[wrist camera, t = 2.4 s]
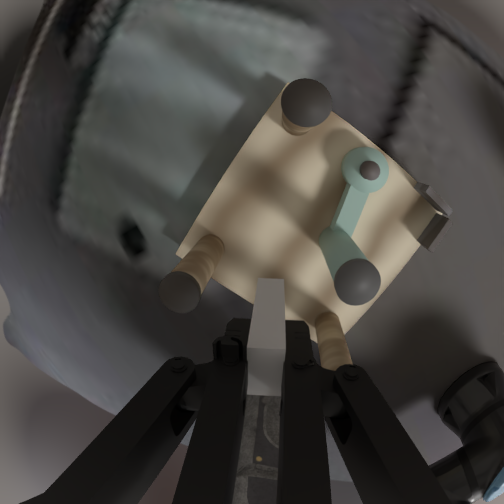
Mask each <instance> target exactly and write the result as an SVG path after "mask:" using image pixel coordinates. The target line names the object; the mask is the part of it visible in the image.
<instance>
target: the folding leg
mask: <svg viewBox="0 0 504 504" xmlns="http://www.w3.org/2000/svg"><path fill="white" fill-rule="evenodd" d="M364 161H374V162H376V163H377V164H378V165H379V167H380V175H379V177H378V178H377V179H375V180H372V181H371V180H367V179H364V178H363V177H362V176H361V174H360V171H359V168H360V165H361V164H362V163H363V162H364ZM341 171H342V175H343V178H344V180H345V181H346V183H347V184H346V187H345V189H344V192H343V194H342V197H341V200H340V202H339V205H338V207H337V210H336V212H335V215H334V217H333V220H332V222H331V225H330V227H327V228H326V229H324V230H323V231H322V233H321V234H320V237H319V246H320V248H321V251H322V253H323V256H324V258H325V261H326V263H327V266H328V268H329V271H330V274H331V276H332V279H333V281H334V288H335V291H336V293H337V295H338V297H339V299H340V300H341V301H343V302H344V303H346V304H348V305H353V306H358V305H363V304H365V303H367V302H369V301H370V300H372V299H373V298H374V297H375V296H376V294H377V293H378V291H379V289H380V285H381V277H380V274H379V271H378V270H377V268H376V267H375V266H374V265H373V264H372V263H371V262H370V261H369V260H368V259H367V258H366V256H365V255H364V254H363V252H362V251H361V250H360V249H359V247H358V246H357V245H356V243H355V242H354V241H353V240H352V238H351V237H352V234H353V232H354V230H355V227H356V225H357V222H358V220H359V218H360V215H361V213H362V210H363V208H364V205H365V203H366V200H367V198H368V195H369V193H372V192H376V191H378V190H379V189H381V188H382V187H383V186H384V185H385V183H386V181H387V179H388V175H389V166H388V163H387V160H386V158H385V157H384V155H383V154H382V153H381V152H379V151H378V150H376V149H374V148H371V147H358V148H354V149H352V150H350V151H349V152H348V153H347V154H346V155H345V156H344V158H343V161H342V165H341Z"/></svg>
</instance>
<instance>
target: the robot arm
mask: <svg viewBox="0 0 504 504" xmlns="http://www.w3.org/2000/svg"><path fill="white" fill-rule="evenodd" d="M213 354H214V360H213V361H212V362H209V363H206V364H199V365H194V363H193V361H192V360H190V359H188V358H185V357H174V358H172V359H169V360H168V361H166V362H165V363H164V364H163V365H162V366H161V367H160V369H159V370H158V371H157V372H156V373H155V374H154V375H153V376H152V377H151V378H150V379H149V381H148V382H147V383H146V384H145V385H144V386H143V387H142V388H141V389H140V390H139V391H138V393H137V394H136V395H135V396H134V397H133V398H132V399H131V400H130V401H129V402H128V403H127V405H126V406H125V407H124V408H123V409H122V410H121V411H120V412H119V413H118V414H117V415H116V416H115V418H114V419H113V420H112V421H111V422H110V423H109V424H108V425H107V426H106V427H105V428H104V429H103V431H102V432H101V433H100V434H99V435H98V436H97V437H96V438H95V439H94V440H93V441H92V442H91V444H90V445H89V446H88V447H87V448H86V449H85V450H84V451H83V452H82V453H81V454H80V455H79V456H78V457H77V458H76V459H75V461H74V462H73V463H72V464H71V465H70V466H69V467H68V468H67V469H66V470H65V471H64V472H63V473H62V474H61V476H59V478H58V479H57V480H56V481H55V482H54V483H53V484H52V485H51V486H50V487H49V488H48V489H47V490H46V491H45V492H44V493H43V494H40V495H38V496H36V497H34V498H31V499H29V500H27V501H24V502H22V503H19V504H137V503H138V502H139V501H140V500H141V498H142V497H143V495H144V494H145V493H146V491H147V490H148V488H149V487H150V486H151V484H152V483H153V481H154V480H155V478H156V477H157V475H158V474H159V473H160V471H161V470H162V469H163V467H164V466H165V464H166V463H167V461H168V460H169V458H170V457H171V455H172V454H173V452H174V451H175V450H176V448H177V447H178V445H179V444H180V442H181V441H182V439H183V438H184V436H185V435H186V433H187V432H188V430H189V429H190V427H191V426H192V424H193V423H194V421H195V420H196V422H195V426H194V429H193V433H192V436H191V439H190V443H189V446H188V450H187V453H186V457H185V460H184V464H183V467H182V471H181V474H180V478H179V481H178V485H177V488H176V492H175V495H174V498H173V502H172V504H232V501H233V495H234V488H235V481H236V474H237V467H238V460H239V453H240V446H241V439H242V432H243V425H244V418H245V410H246V395H264V396H281V402H280V410H279V416H280V427H279V455H278V478H277V497H276V504H332V503H331V489H330V475H329V464H328V453H327V443H326V433H325V424H324V417H325V420H326V422H327V425H328V427H329V429H330V431H331V434H332V436H333V438H334V440H335V442H336V445H337V447H338V449H339V451H340V453H341V456H342V458H343V460H344V462H345V465H346V467H347V469H348V471H349V473H350V476H351V478H352V480H353V482H354V485H355V487H356V489H357V491H358V493H359V495H360V498H361V500H362V502H363V504H472V503H474V502H475V501H477V500H479V499H481V498H482V497H483V500H485V501H486V502H489V501H491V500H493V499H494V498H496V497H497V496H499V495H501V494H502V493H503V492H504V372H503V371H502V369H501V368H500V367H499V365H498V364H496V363H494V362H487V363H483V364H481V365H478V366H476V367H474V368H473V369H471V370H469V371H468V372H466V373H465V374H464V375H462V376H461V377H460V378H459V379H458V380H457V381H456V382H455V383H454V384H453V385H452V386H451V387H450V388H449V389H448V390H447V391H446V393H445V394H444V396H443V397H442V399H441V401H440V403H439V407H438V413H439V416H440V418H441V420H442V422H443V423H444V424H445V425H446V426H447V427H448V428H449V429H450V430H452V431H453V432H454V433H455V434H456V435H457V436H458V437H459V438H460V439H461V442H462V444H463V447H461V448H459V449H458V450H456V451H454V452H453V453H451V454H449V455H447V456H446V457H444V458H442V459H440V460H439V461H437V462H435V463H433V464H431V465H429V466H428V465H427V463H426V461H425V460H424V458H423V457H422V455H421V454H420V452H419V451H418V449H417V447H416V446H415V444H414V443H413V441H412V440H411V438H410V437H409V435H408V434H407V432H406V431H405V429H404V428H403V426H402V425H401V423H400V422H399V420H398V419H397V417H396V416H395V414H394V413H393V411H392V410H391V408H390V407H389V405H388V404H387V402H386V401H385V399H384V398H383V396H382V395H381V393H380V392H379V390H378V389H377V387H376V386H375V384H374V383H373V381H372V380H371V379H370V377H369V376H368V374H367V373H366V371H365V370H364V369H363V368H361V367H359V366H357V365H353V364H344V365H342V366H339V367H338V368H337V369H336V371H334V370H329V369H326V368H323V367H321V366H319V365H318V364H317V363H316V361H315V359H314V358H313V352H312V345H311V339H310V331H309V326H308V325H307V323H306V322H305V321H304V320H285V295H284V279H270V278H258V282H257V288H256V294H255V301H254V307H253V313H252V319H239V318H233V319H232V320H231V321H230V322H229V323H228V325H227V328H226V332H225V336H222V337H219V338H217V339H216V340H215V341H214V342H213ZM196 418H197V419H196Z"/></svg>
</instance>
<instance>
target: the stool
mask: <svg viewBox="0 0 504 504" xmlns="http://www.w3.org/2000/svg"><path fill="white" fill-rule="evenodd" d="M331 110H332V98H331V95H330V93H329V91H328V90H327V88H326V87H325V86H324V85H322V84H321V83H319V82H318V81H315V80H312V79H306V78H304V79H298V80H295V81H293V82H291V83H289V82H288V83H287V84H286V85H285V87H284V88H283V90H282V91H281V92H280V94H279V95H278V96H277V98H276V99H275V100H274V102H273V103H272V105H271V106H270V107H269V109H268V110H267V112H266V113H265V114H264V116H263V117H262V119H261V120H260V122H259V123H258V124H257V126H256V127H255V129H254V130H253V132H252V133H251V135H250V136H249V138H248V139H247V140H246V142H245V143H244V145H243V146H242V148H241V149H240V151H239V152H238V154H237V155H236V157H235V158H234V160H233V161H232V163H231V164H230V166H229V168H228V169H227V171H226V172H225V174H224V175H223V177H222V178H221V180H220V181H219V183H218V185H217V186H216V188H215V189H214V191H213V193H212V194H211V196H210V197H209V199H208V200H207V202H206V204H205V205H204V207H203V209H202V210H201V212H200V213H199V215H198V217H197V218H196V220H195V222H194V223H193V225H192V227H191V228H190V230H189V232H188V233H187V235H186V237H185V238H184V240H183V242H182V244H181V245H180V247H179V249H178V250H177V252H176V255H178V256H179V257H181V258H182V260H181V261H180V262H179V264H178V265H177V266H176V267H175V268H174V269H173V270H172V272H171V273H169V274H168V275H166V277H165V278H164V279H163V280H162V281H161V283H160V285H159V290H158V291H159V297H160V299H161V301H162V303H163V304H164V305H165V306H166V307H167V308H168V309H170V310H171V311H174V312H176V313H188V312H191V311H192V310H194V309H195V308H196V306H197V305H198V303H199V301H200V298H201V294H202V292H203V291H204V289H205V287H206V285H207V283H208V281H209V279H210V278H212V279H214V280H216V281H217V282H219V283H220V284H222V285H223V286H225V287H226V288H228V289H230V290H231V291H233V292H234V293H236V294H237V295H239V296H241V297H242V298H244V299H245V300H247V301H249V302H250V303H252V304H253V305H254V301H255V294H256V288H257V282H258V278H270V279H284V295H285V320H304V321H305V322H306V323H307V325H308V326H309V331H310V339H311V340H313V341H315V342H316V343H318V348H319V354H320V361H321V367H323V368H326V369H329V370H334V371H336V369H337V368H338V367H339V366H342V365H344V364H352V360H351V357H350V353H349V350H348V346H347V343H346V340H345V336H344V335H345V334H346V333H347V331H348V330H349V329H350V328H351V327H352V326H353V325H354V324H355V323H356V322H357V321H358V320H359V319H360V317H361V316H362V315H363V314H364V313H365V312H366V311H367V310H368V309H369V307H370V306H371V305H372V304H373V303H374V302H375V301H376V299H377V298H378V297H379V296H380V295H381V294H382V292H383V291H384V290H385V289H386V288H387V287H388V285H389V284H390V283H391V282H392V281H393V279H394V278H395V277H396V276H397V274H398V273H399V272H400V271H401V269H402V268H403V267H404V266H405V264H406V263H407V262H408V261H409V259H410V258H411V257H412V255H413V254H414V253H415V251H416V250H417V249H418V247H419V246H420V245H422V246H424V247H425V248H426V249H428V250H429V251H430V252H432V253H433V251H434V250H435V249H436V247H437V246H438V245H439V243H440V242H441V240H442V239H443V238H444V236H445V235H446V233H447V232H448V230H449V229H450V228H451V226H452V225H453V223H452V221H451V220H450V219H448V218H446V217H444V216H442V214H445V215H448V216H450V214H451V213H452V211H453V210H452V209H451V207H450V206H449V205H448V204H447V203H446V202H445V201H444V200H443V199H442V198H441V197H440V196H439V195H438V194H437V192H436V191H435V190H434V189H433V188H432V187H431V186H429V185H426V184H422V183H418V182H417V181H415V180H414V179H413V178H412V177H411V176H410V175H409V174H408V173H407V172H406V171H405V170H404V169H403V168H402V167H400V166H399V165H398V164H397V163H396V162H395V161H394V160H393V159H391V158H390V157H389V156H388V155H387V154H386V153H384V152H383V151H382V150H381V149H380V148H379V147H377V146H376V145H375V144H374V143H373V142H371V141H370V140H369V139H368V138H366V137H365V136H364V135H363V134H361V133H360V132H359V131H358V130H356V129H355V128H354V127H352V126H351V125H350V124H348V123H347V122H346V121H344V120H343V119H342V118H340V117H339V116H338V115H336V114H335V113H334V112H332V111H331ZM358 147H371V148H374V149H376V150H378V151H379V152H381V153H382V154H383V155H384V157H385V158H386V160H387V163H388V166H389V175H388V179H387V181H386V183H385V185H384V186H383V187H382V188H381V189H379V190H378V191H376V192H372V193H369V195H368V198H367V200H366V203H365V205H364V208H363V210H362V213H361V215H360V218H359V220H358V222H357V225H356V227H355V230H354V232H353V234H352V237H351V238H352V240H353V241H354V242H355V243H356V245H357V246H358V247H359V249H360V250H361V251H362V252H363V254H364V255H365V256H366V258H367V259H368V260H369V261H370V262H371V263H372V264H373V265H374V266H375V267H376V268H377V270H378V271H379V274H380V277H381V285H380V289H379V291H378V293H377V294H376V296H375V297H374V298H373V299H372V300H370V301H369V302H367V303H365V304H363V305H358V306H353V305H348V304H346V303H344V302H343V301H341V300H340V299H339V297H338V295H337V293H336V291H335V288H334V281H333V279H332V276H331V274H330V271H329V268H328V266H327V263H326V261H325V258H324V256H323V253H322V251H321V248H320V246H319V237H320V234H321V233H322V231H323V230H324V229H326V228H327V227H330V225H331V222H332V220H333V217H334V215H335V212H336V210H337V207H338V205H339V202H340V200H341V197H342V194H343V192H344V189H345V187H346V184H347V183H346V181H345V180H344V178H343V175H342V171H341V165H342V161H343V158H344V156H345V155H346V154H347V153H348V152H349V151H350V150H352V149H354V148H358ZM359 171H360V174H361V176H362V177H363V178H364V179H367V180H371V181H372V180H375V179H377V178H378V177H379V175H380V167H379V165H378V164H377V163H376V162H374V161H364V162H363V163H362V164H361V165H360V168H359Z"/></svg>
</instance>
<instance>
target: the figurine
mask: <svg viewBox="0 0 504 504" xmlns="http://www.w3.org/2000/svg"><path fill="white" fill-rule="evenodd" d="M280 402H281V396H264V395H246V410H245V418H244V425H243V432H242V439H241V446H240V453H239V460H238V467H237V474H236V481H235V488H234V495H233V501H232V504H276V497H277V478H278V455H279V427H280V416H279V410H280Z"/></svg>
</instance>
